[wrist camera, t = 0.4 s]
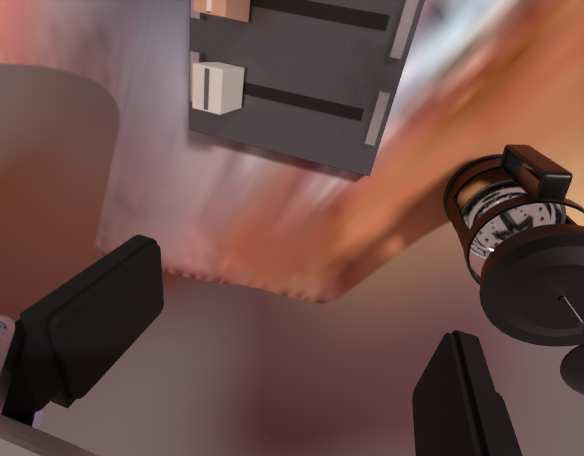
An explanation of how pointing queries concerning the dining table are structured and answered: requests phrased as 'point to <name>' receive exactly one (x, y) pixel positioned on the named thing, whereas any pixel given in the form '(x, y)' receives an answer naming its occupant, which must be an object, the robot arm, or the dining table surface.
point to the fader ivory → (217, 87)
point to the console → (309, 75)
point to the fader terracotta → (224, 8)
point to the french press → (526, 251)
